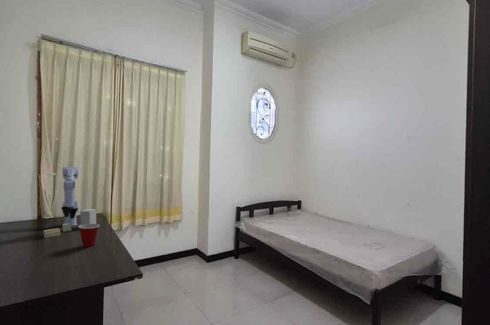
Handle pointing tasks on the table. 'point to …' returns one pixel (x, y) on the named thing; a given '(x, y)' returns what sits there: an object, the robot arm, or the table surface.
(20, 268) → the table surface
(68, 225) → the sage cube
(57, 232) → the beech base
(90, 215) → the supplement box
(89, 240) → the plastic cup
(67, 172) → the robot arm
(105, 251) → the table surface
